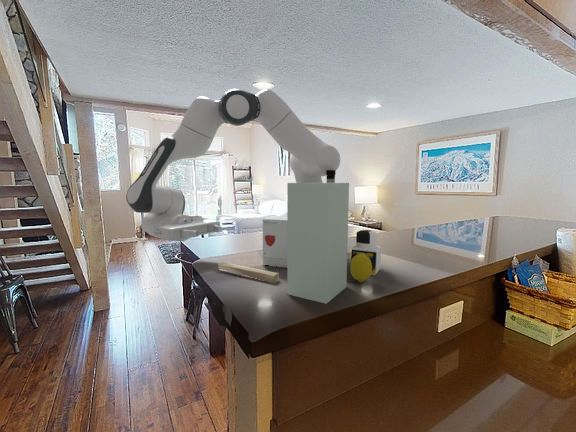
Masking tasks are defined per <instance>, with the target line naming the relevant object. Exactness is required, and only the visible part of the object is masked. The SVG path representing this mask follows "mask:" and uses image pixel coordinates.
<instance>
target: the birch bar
mask: <svg viewBox="0 0 576 432" xmlns="http://www.w3.org/2000/svg"><path fill="white" fill-rule="evenodd" d="M217 268H219V269H223V270H227V271H232V272H236V273H239V274H243V275H247V276H250V277H253V278H257V279H260V280H259V281H261V280H264V281H263V282H265V281H267V282H266V283H271V284H275V283H277V282H279V280H280V274H279V273H280V272H275V271H268V270H264V269H259V268H255V267H254V268H253V267H249V266H245V265H239V264H234V263H230V262H229V263H228V262H226V261H225V262H220V263H218V264H217Z"/></svg>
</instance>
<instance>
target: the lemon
mask: <svg viewBox="0 0 576 432" xmlns="http://www.w3.org/2000/svg"><path fill="white" fill-rule="evenodd" d="M349 268H350V269H349V271H350V274H351V276H352V277H353V279H355V280H356V281H358V282H359V283H363V282H364V281H367V280H368V279H369V278H370V277H371V276H372V275H371V272H372V263H371V260H370V259H369V257H368V256H366V255H364V254H363V253H360V254H357V255H355V256H354V257H353V259H352V261H351V262H350V265H349Z"/></svg>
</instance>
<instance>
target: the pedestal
mask: <svg viewBox="0 0 576 432" xmlns="http://www.w3.org/2000/svg"><path fill="white" fill-rule="evenodd" d="M286 186H287V187H286V188H287V189H286V190H287V194H286V195H287V198H286V199H287V202H286V204H287V210H286V211H287V212H286V213H287V273H286V274H287V278H286V279H287V289H286V290H287V295H289V296H293V297H297V298H301V299H306V300H310V301H314V302H317V303H322V304H325V305H327V304H328V303H329V302H330V301H332V300H333V299H334V298H335V297H336V296H337V295H338V294H340V293H341V292H343V290H345V289H346V288H347V282H348V281H347V276H348V274H347V273H348V244H349V243H348V242H349V241H348V240H349V239H348V238H349V237H348V235H349V203H350V201H349V200H350V199H349V198H350V183H349V182H335V183H327V182H323V183H296V182H288V183H287V185H286Z"/></svg>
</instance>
